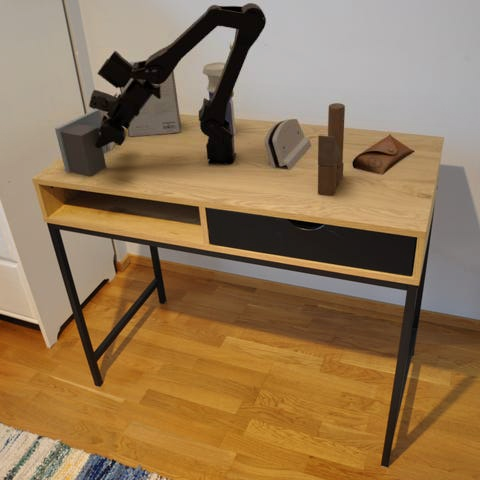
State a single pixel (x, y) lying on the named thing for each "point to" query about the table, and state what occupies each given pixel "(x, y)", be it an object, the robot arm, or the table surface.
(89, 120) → the door
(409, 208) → the table surface
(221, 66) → the water bottle
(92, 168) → the doorstop block
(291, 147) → the hinge
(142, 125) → the hard drive box
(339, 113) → the wooden block
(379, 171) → the sunglasses case
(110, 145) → the wall frame
